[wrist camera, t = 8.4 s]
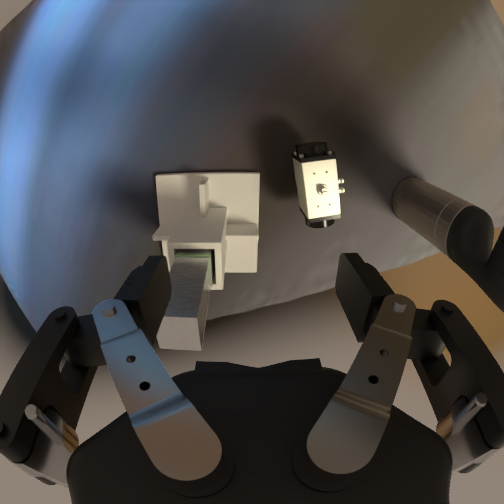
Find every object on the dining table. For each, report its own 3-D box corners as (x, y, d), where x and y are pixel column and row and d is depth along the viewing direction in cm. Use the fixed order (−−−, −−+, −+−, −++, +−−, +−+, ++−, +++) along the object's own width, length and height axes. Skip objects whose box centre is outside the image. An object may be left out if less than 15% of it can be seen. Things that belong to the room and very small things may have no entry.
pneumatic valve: (295, 209, 46) (311, 236, 36) (285, 142, 41) (300, 148, 30) (325, 204, 46) (350, 229, 35) (317, 138, 41) (343, 143, 30)
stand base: (259, 172, 43) (268, 197, 29) (256, 268, 51) (261, 325, 37) (158, 174, 43) (119, 200, 28) (167, 267, 51) (143, 322, 36)
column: (216, 228, 39) (198, 316, 22) (217, 255, 41) (202, 352, 23) (188, 228, 39) (149, 314, 21) (190, 255, 41) (159, 349, 23)
